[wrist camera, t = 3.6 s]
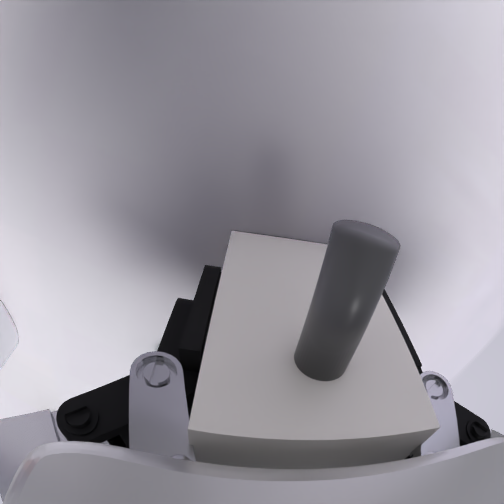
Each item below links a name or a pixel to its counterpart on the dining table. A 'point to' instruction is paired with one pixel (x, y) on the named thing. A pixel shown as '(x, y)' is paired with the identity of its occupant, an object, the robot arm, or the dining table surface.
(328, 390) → the keyed plug
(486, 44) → the dining table surface
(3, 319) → the cylindrical container
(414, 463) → the robot arm
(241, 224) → the dining table surface
